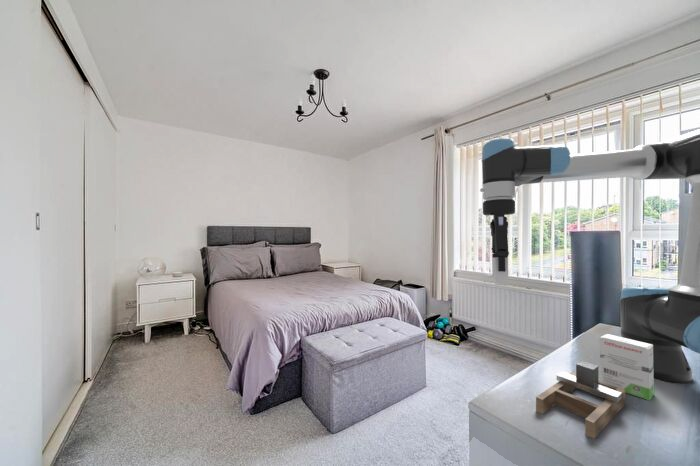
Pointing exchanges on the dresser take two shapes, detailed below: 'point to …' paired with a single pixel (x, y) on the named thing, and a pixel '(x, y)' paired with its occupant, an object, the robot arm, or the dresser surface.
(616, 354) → the ink box
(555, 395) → the dock
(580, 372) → the bar
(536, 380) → the dresser surface
